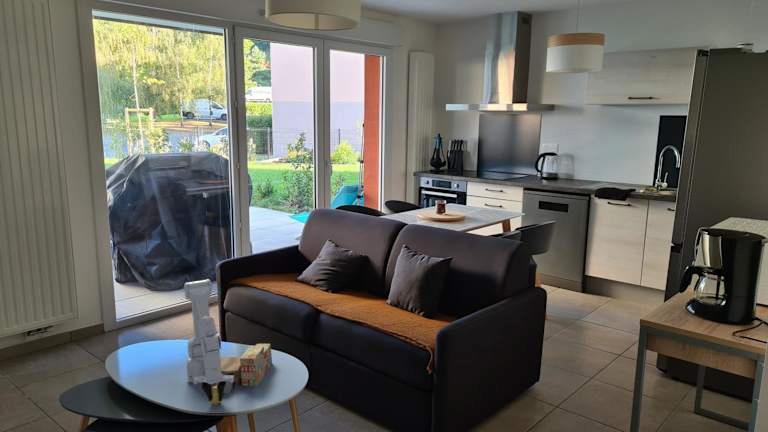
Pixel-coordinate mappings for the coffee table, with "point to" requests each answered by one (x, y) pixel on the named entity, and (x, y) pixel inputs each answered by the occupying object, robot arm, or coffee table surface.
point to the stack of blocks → (255, 364)
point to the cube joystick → (216, 395)
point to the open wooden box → (231, 368)
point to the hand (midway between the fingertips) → (215, 400)
